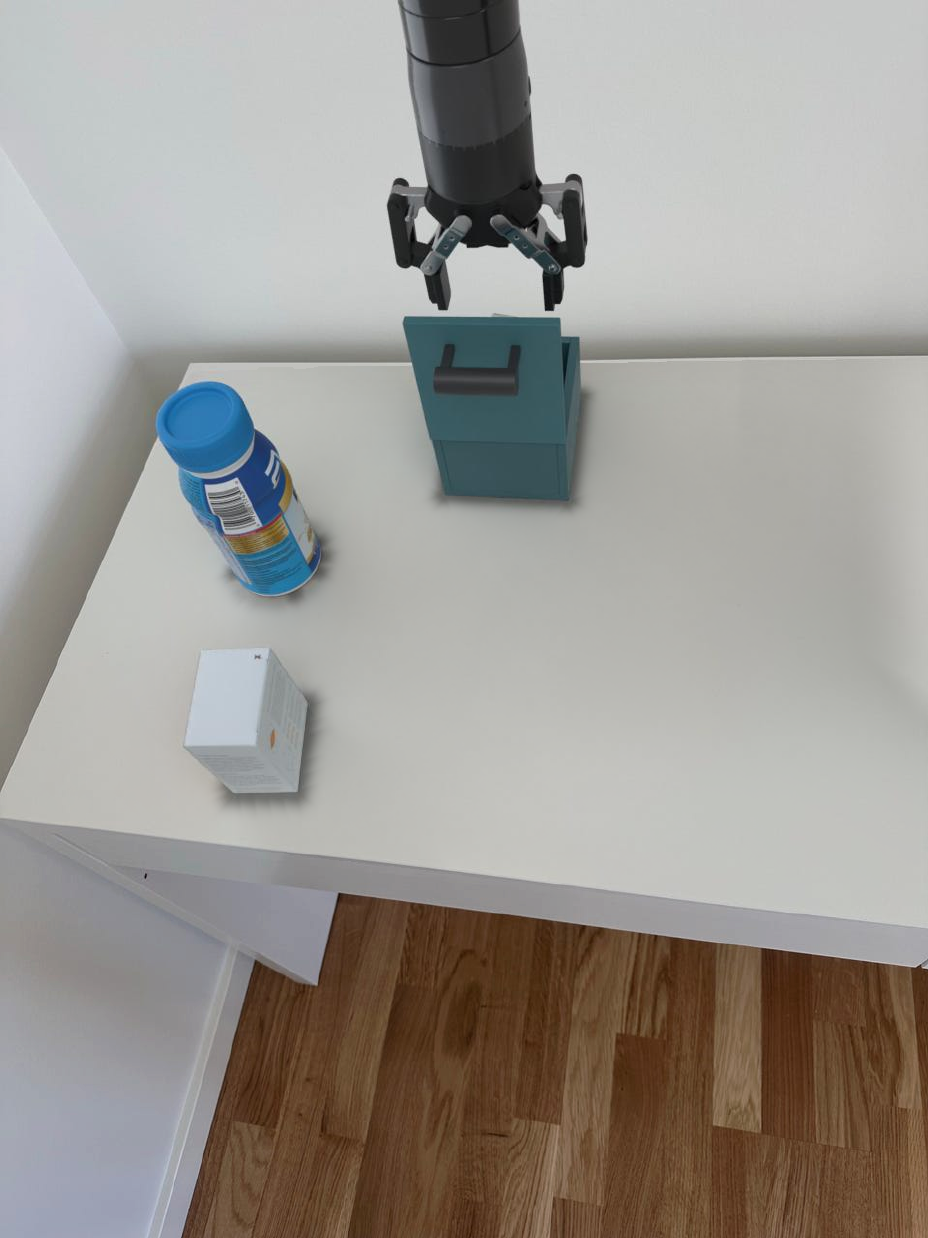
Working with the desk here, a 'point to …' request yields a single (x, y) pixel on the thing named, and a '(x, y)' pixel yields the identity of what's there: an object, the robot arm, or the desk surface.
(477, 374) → the freezer lid
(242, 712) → the small box
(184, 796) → the desk surface
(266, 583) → the beverage bottle
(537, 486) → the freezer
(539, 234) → the robot arm
